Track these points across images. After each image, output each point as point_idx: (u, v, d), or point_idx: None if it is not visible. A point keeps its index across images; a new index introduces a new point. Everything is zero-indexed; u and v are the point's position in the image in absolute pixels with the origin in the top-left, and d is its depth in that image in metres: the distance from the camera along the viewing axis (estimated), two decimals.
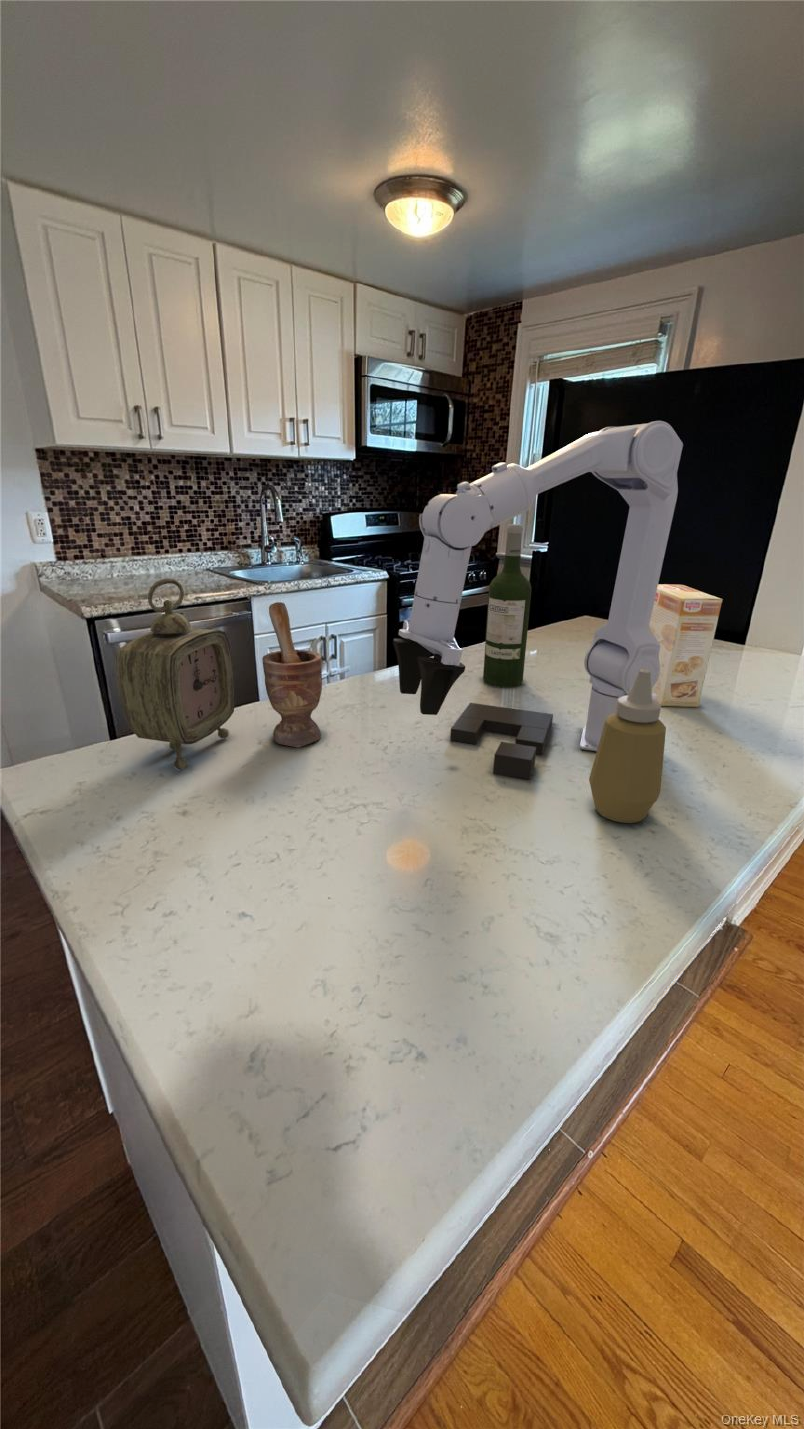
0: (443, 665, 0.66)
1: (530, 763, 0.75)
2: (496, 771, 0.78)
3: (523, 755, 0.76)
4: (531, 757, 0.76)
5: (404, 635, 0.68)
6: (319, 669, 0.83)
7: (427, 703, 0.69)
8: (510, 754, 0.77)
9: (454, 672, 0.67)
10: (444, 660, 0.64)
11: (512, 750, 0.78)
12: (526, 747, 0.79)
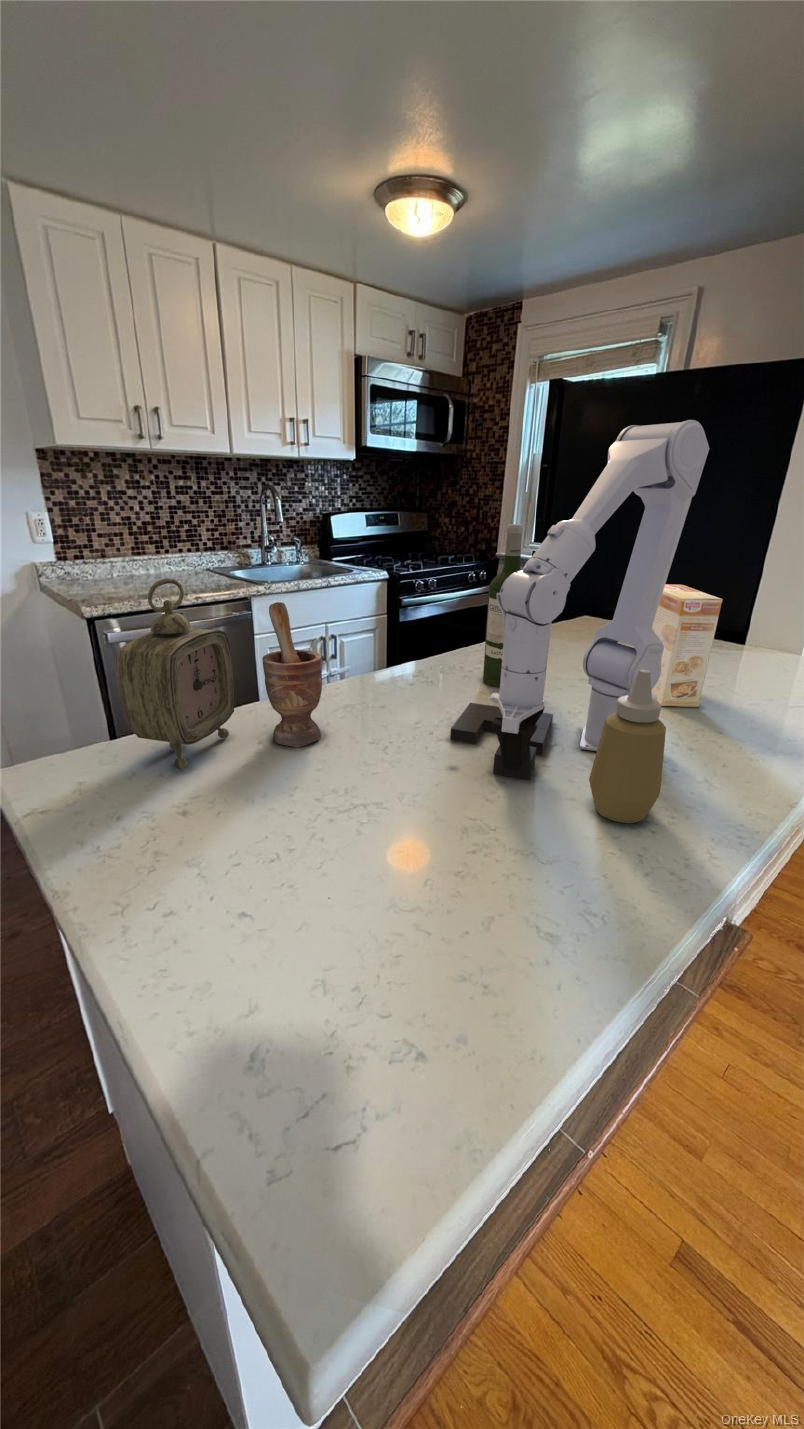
0: None
1: (530, 763, 0.75)
2: (496, 771, 0.78)
3: None
4: (531, 757, 0.76)
5: (490, 699, 0.76)
6: (319, 669, 0.83)
7: (506, 759, 0.75)
8: None
9: (523, 735, 0.72)
10: (502, 728, 0.70)
11: None
12: (526, 747, 0.79)
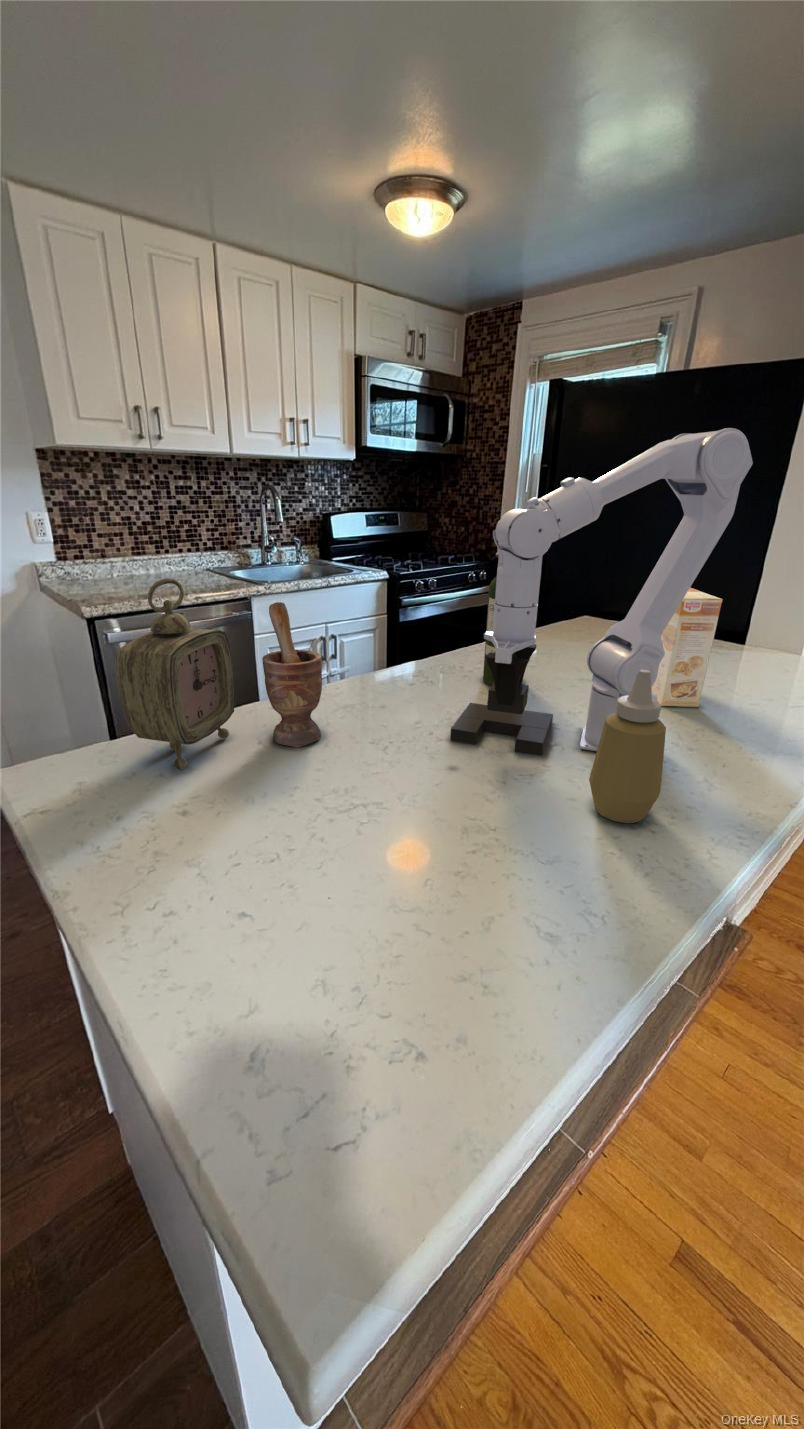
0: None
1: (522, 698, 0.78)
2: (490, 707, 0.81)
3: None
4: (523, 692, 0.79)
5: (484, 636, 0.79)
6: (319, 669, 0.83)
7: (500, 694, 0.79)
8: None
9: (515, 667, 0.75)
10: (495, 658, 0.73)
11: None
12: (519, 685, 0.82)
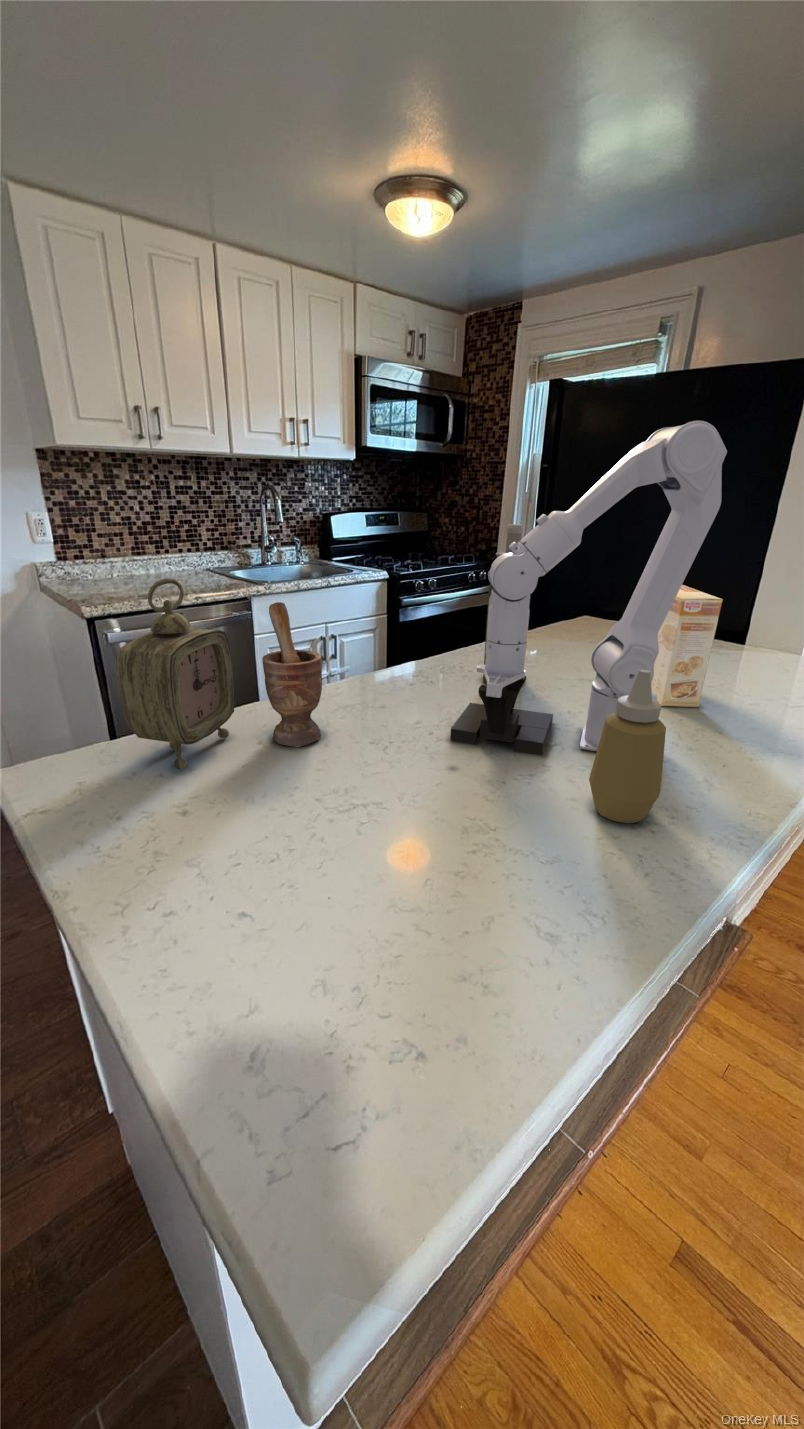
0: None
1: (512, 727, 0.84)
2: (482, 735, 0.86)
3: None
4: (513, 722, 0.84)
5: (477, 669, 0.84)
6: (319, 669, 0.83)
7: (491, 723, 0.84)
8: None
9: (505, 700, 0.80)
10: (486, 692, 0.78)
11: None
12: (510, 714, 0.87)
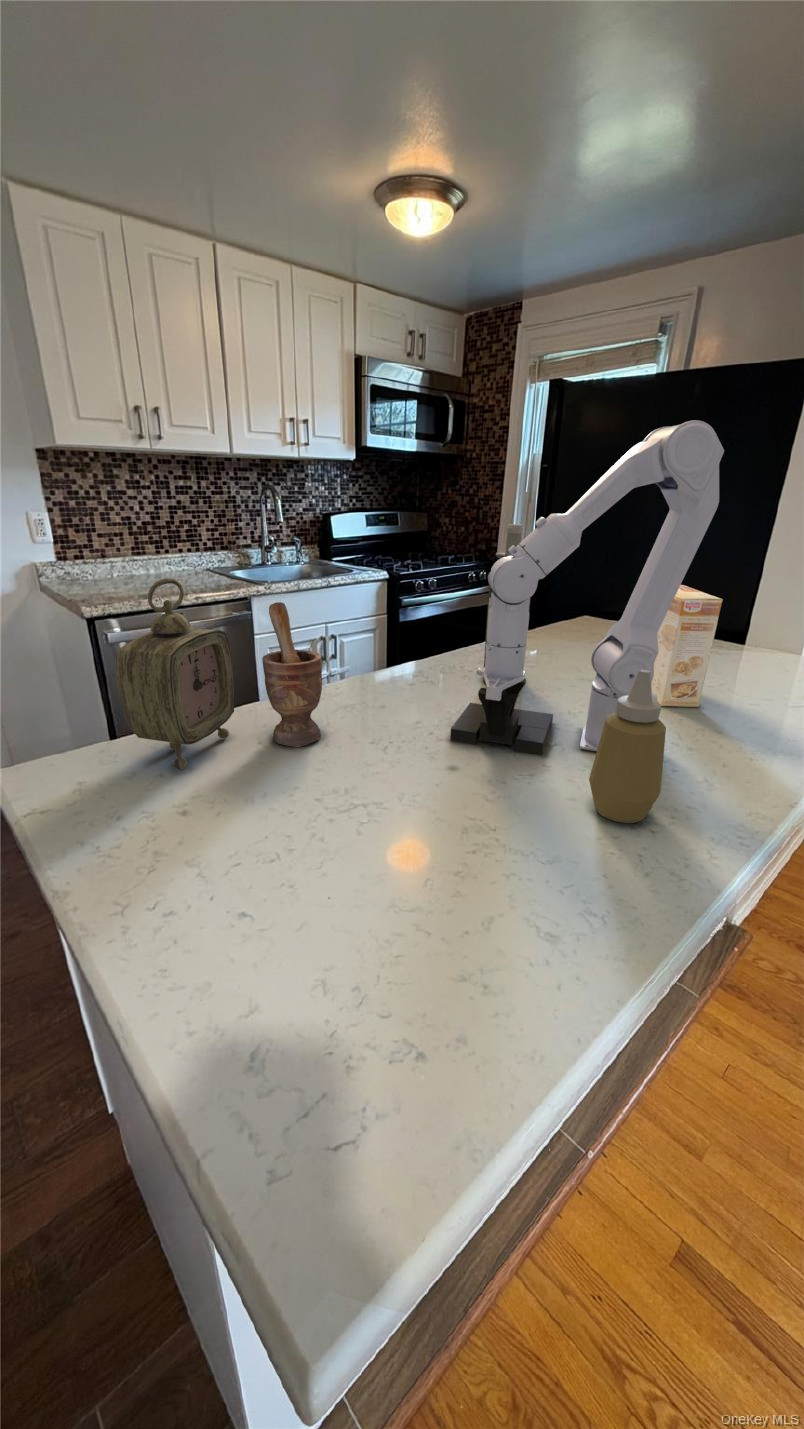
0: None
1: (512, 729, 0.84)
2: (482, 738, 0.86)
3: None
4: (513, 724, 0.84)
5: (477, 672, 0.84)
6: (319, 669, 0.83)
7: (491, 726, 0.84)
8: None
9: (505, 703, 0.80)
10: (486, 695, 0.78)
11: None
12: (509, 716, 0.87)
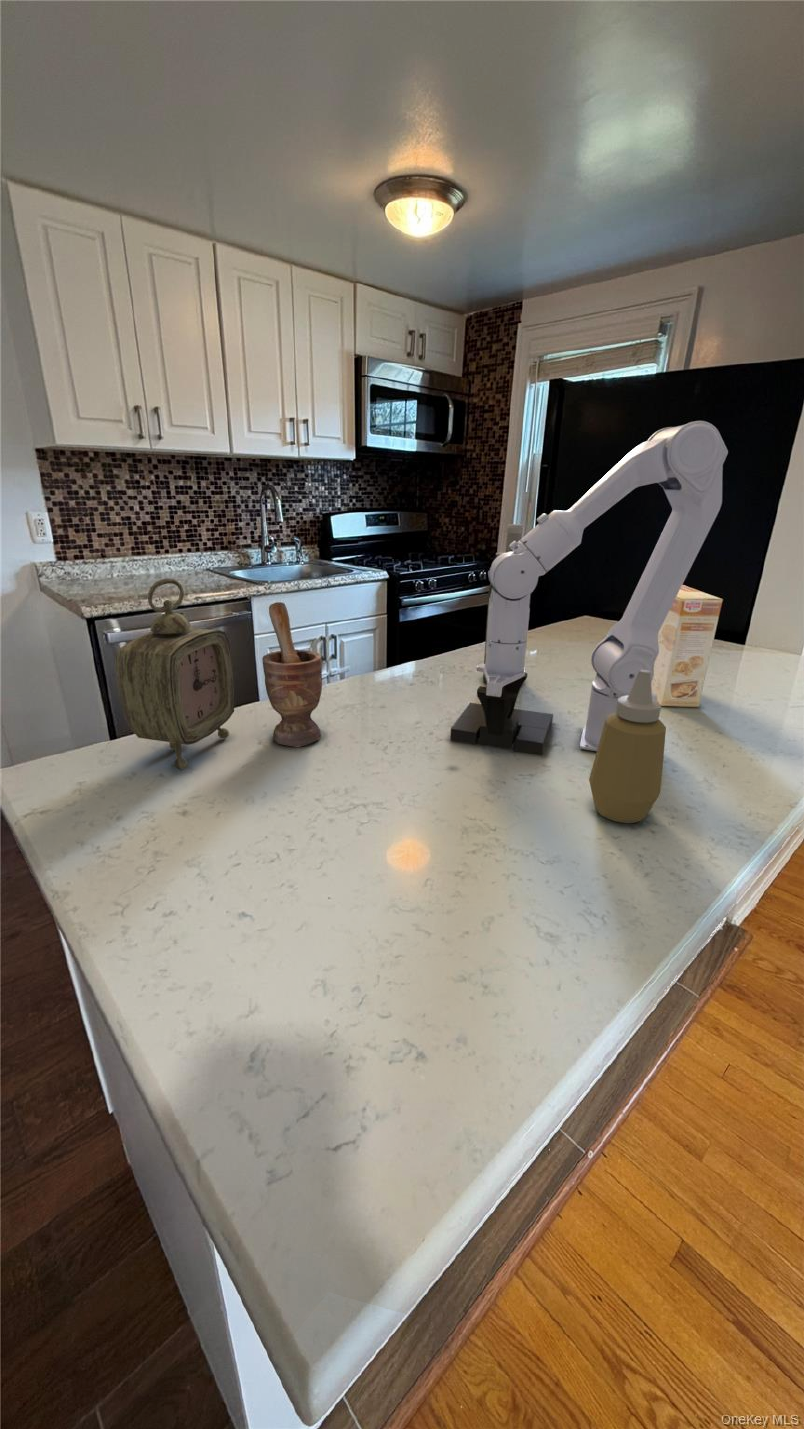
0: None
1: (512, 733, 0.84)
2: (482, 741, 0.86)
3: (505, 727, 0.85)
4: (513, 728, 0.85)
5: (477, 669, 0.84)
6: (319, 669, 0.83)
7: (490, 725, 0.83)
8: None
9: (504, 701, 0.79)
10: (486, 692, 0.78)
11: None
12: (509, 720, 0.88)
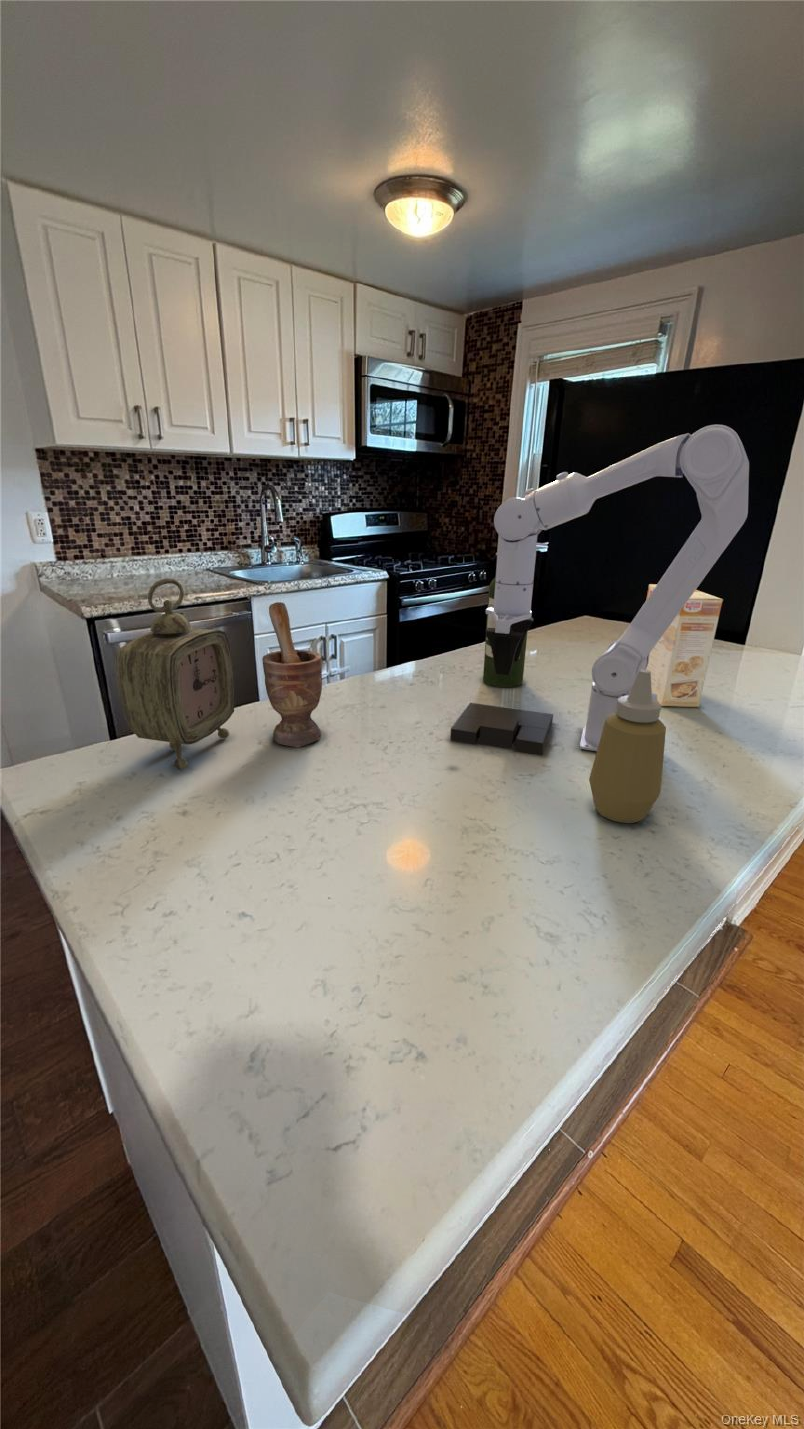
0: (499, 633, 0.84)
1: (512, 733, 0.84)
2: (482, 741, 0.86)
3: (505, 727, 0.85)
4: (513, 728, 0.85)
5: (486, 611, 0.89)
6: (319, 669, 0.83)
7: (498, 665, 0.88)
8: (494, 725, 0.86)
9: (511, 640, 0.84)
10: (495, 629, 0.83)
11: (496, 723, 0.87)
12: (509, 720, 0.88)
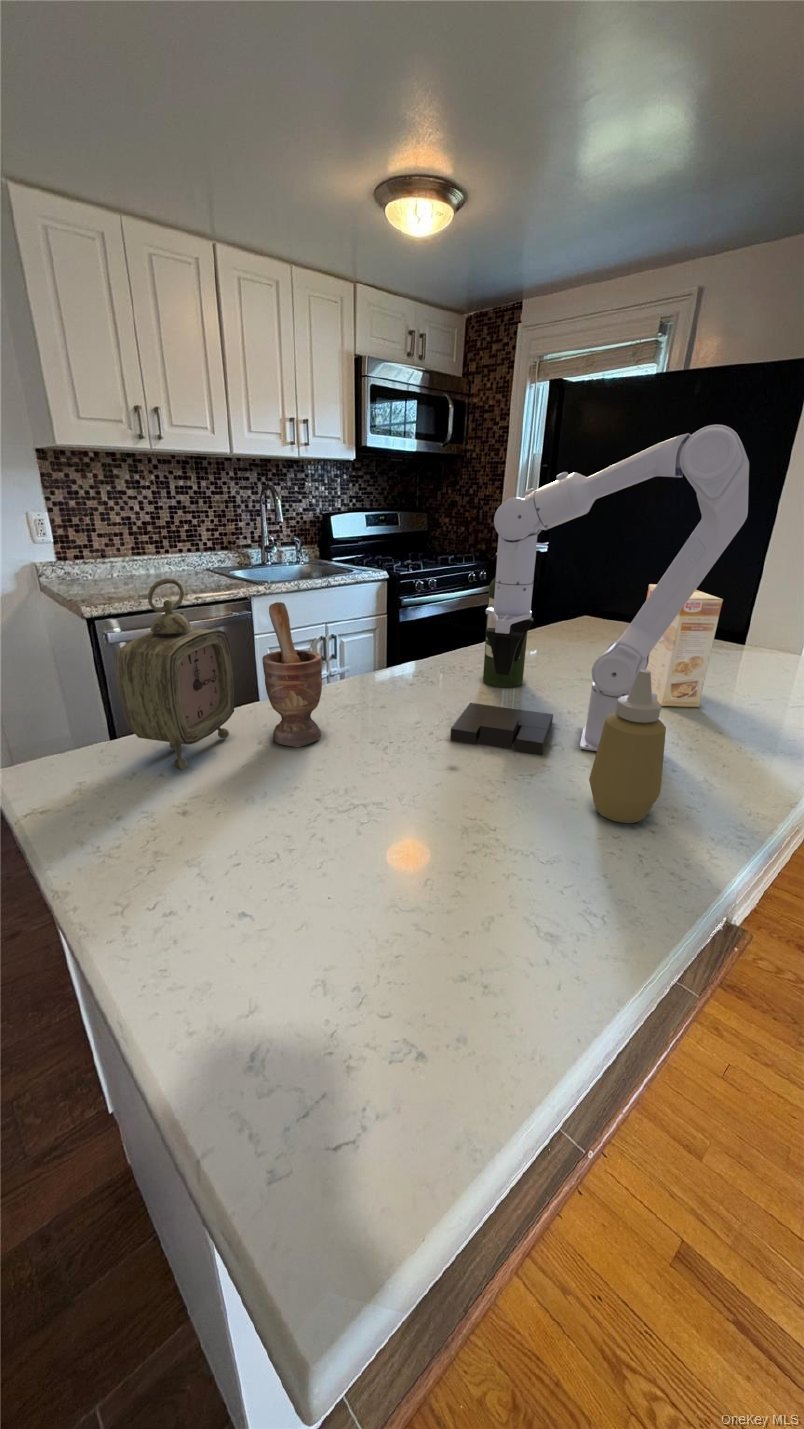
0: (499, 633, 0.84)
1: (512, 733, 0.84)
2: (482, 741, 0.86)
3: (505, 727, 0.85)
4: (513, 728, 0.85)
5: (486, 611, 0.89)
6: (319, 669, 0.83)
7: (498, 665, 0.88)
8: (494, 725, 0.86)
9: (511, 640, 0.84)
10: (495, 629, 0.83)
11: (496, 723, 0.87)
12: (509, 720, 0.88)
